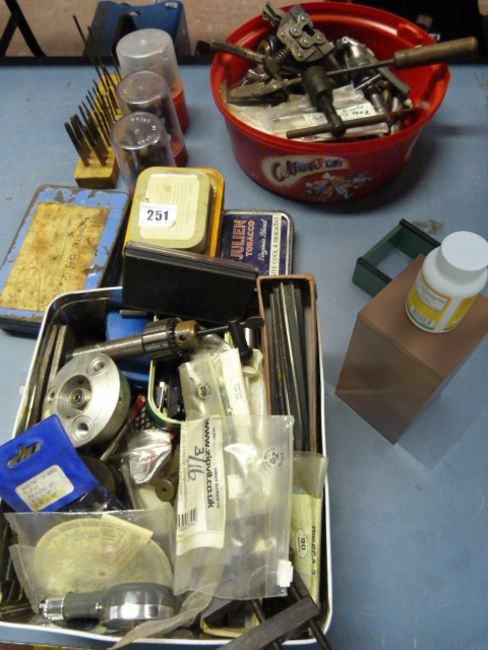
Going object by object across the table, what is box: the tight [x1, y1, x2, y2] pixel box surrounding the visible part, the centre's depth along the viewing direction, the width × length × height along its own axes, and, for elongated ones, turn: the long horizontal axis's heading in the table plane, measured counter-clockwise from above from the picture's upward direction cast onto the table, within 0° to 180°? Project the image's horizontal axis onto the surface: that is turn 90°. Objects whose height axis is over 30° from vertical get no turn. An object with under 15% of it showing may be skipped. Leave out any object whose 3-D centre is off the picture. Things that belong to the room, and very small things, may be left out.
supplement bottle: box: [406, 230, 488, 333], centre depth 45 cm, size 5×5×10 cm
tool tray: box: [351, 217, 442, 298], centre depth 75 cm, size 11×11×6 cm
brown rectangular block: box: [334, 254, 488, 446], centre depth 59 cm, size 10×10×22 cm
